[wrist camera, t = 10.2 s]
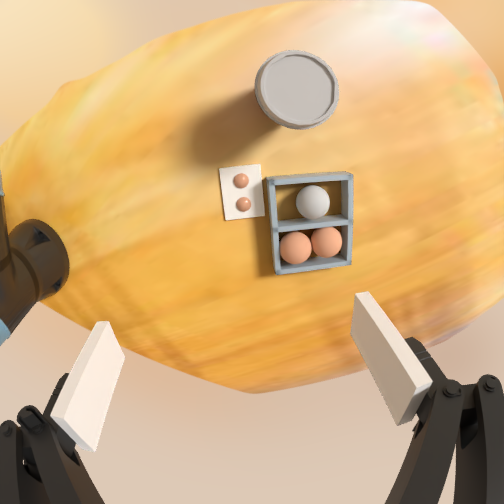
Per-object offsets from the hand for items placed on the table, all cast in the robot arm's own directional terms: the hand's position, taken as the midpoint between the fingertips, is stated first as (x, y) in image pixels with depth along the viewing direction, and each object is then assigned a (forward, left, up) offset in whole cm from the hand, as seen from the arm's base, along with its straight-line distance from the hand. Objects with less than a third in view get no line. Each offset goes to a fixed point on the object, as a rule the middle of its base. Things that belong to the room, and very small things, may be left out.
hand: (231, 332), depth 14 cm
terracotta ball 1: (+9, -9, -31) cm, 33 cm away
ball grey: (+12, -2, -31) cm, 33 cm away
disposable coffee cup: (+9, +14, -31) cm, 35 cm away
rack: (+12, -5, -31) cm, 33 cm away
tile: (+2, 0, -31) cm, 31 cm away
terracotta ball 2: (+13, -8, -31) cm, 34 cm away
